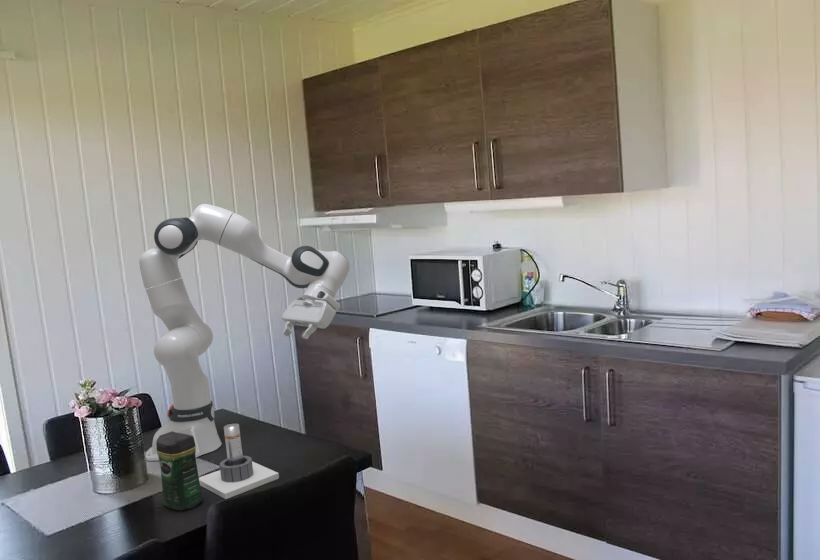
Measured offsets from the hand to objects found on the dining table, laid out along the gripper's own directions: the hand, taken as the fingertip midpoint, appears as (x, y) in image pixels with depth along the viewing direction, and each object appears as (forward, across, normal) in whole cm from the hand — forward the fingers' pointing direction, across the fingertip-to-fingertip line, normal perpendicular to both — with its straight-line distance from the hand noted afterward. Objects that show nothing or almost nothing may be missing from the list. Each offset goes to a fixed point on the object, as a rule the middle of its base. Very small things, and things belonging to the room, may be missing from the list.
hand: (294, 336), depth 210 cm
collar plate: (+44, +7, +4) cm, 44 cm away
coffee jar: (+55, +8, -7) cm, 56 cm away
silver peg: (+42, +7, +3) cm, 43 cm away
